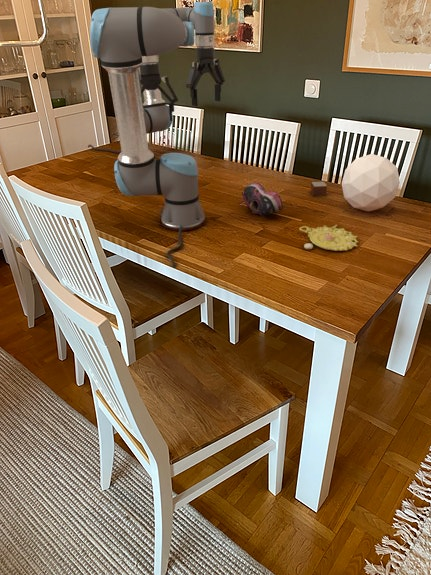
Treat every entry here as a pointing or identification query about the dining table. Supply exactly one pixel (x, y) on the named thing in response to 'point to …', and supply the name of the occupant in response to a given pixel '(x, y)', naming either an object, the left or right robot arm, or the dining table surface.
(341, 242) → the decorative object
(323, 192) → the block
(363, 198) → the sphere
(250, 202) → the athletic shoe
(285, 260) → the dining table surface
